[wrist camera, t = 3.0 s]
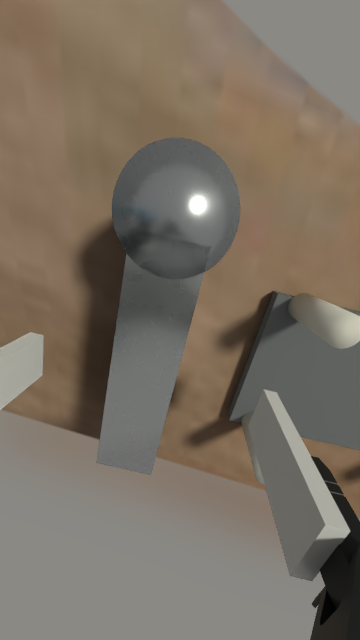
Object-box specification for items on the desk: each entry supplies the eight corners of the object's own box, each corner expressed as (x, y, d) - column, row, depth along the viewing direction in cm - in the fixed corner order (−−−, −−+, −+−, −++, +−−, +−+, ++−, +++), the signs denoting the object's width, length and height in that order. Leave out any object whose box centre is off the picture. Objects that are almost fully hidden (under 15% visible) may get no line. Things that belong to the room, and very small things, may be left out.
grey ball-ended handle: (172, 417, 22) (164, 478, 16) (111, 403, 22) (82, 459, 16) (234, 189, 15) (258, 156, 10) (148, 167, 15) (121, 121, 9)
